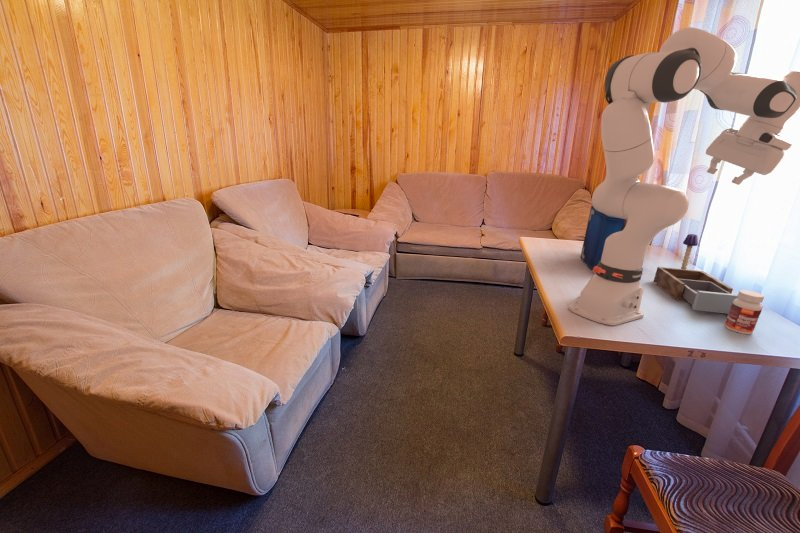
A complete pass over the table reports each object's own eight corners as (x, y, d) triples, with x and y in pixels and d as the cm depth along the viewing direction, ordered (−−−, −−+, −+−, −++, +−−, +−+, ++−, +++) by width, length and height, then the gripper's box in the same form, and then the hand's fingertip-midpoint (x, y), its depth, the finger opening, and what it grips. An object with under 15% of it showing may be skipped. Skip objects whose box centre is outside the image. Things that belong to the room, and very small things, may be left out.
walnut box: (727, 305, 120) (733, 288, 118) (676, 300, 123) (681, 283, 121) (697, 285, 136) (702, 271, 134) (653, 281, 139) (657, 266, 137)
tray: (750, 315, 109) (757, 297, 108) (694, 309, 112) (699, 292, 110) (713, 292, 127) (719, 276, 125) (665, 287, 130) (670, 271, 128)
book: (612, 277, 142) (627, 214, 134) (593, 275, 144) (607, 213, 136) (596, 260, 163) (608, 205, 154) (579, 259, 164) (590, 204, 156)
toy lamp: (683, 276, 146) (695, 236, 141) (671, 272, 150) (683, 233, 145) (690, 275, 148) (703, 235, 143) (678, 271, 152) (690, 232, 147)
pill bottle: (734, 333, 101) (748, 296, 97) (718, 323, 107) (731, 288, 103) (758, 335, 100) (773, 298, 97) (741, 325, 106) (755, 290, 102)
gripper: (719, 123, 115) (689, 165, 122) (781, 140, 98) (742, 187, 105) (734, 129, 116) (703, 169, 123) (798, 146, 99) (758, 192, 106)
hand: (722, 178), depth 114 cm, fingers open, 8 cm apart
